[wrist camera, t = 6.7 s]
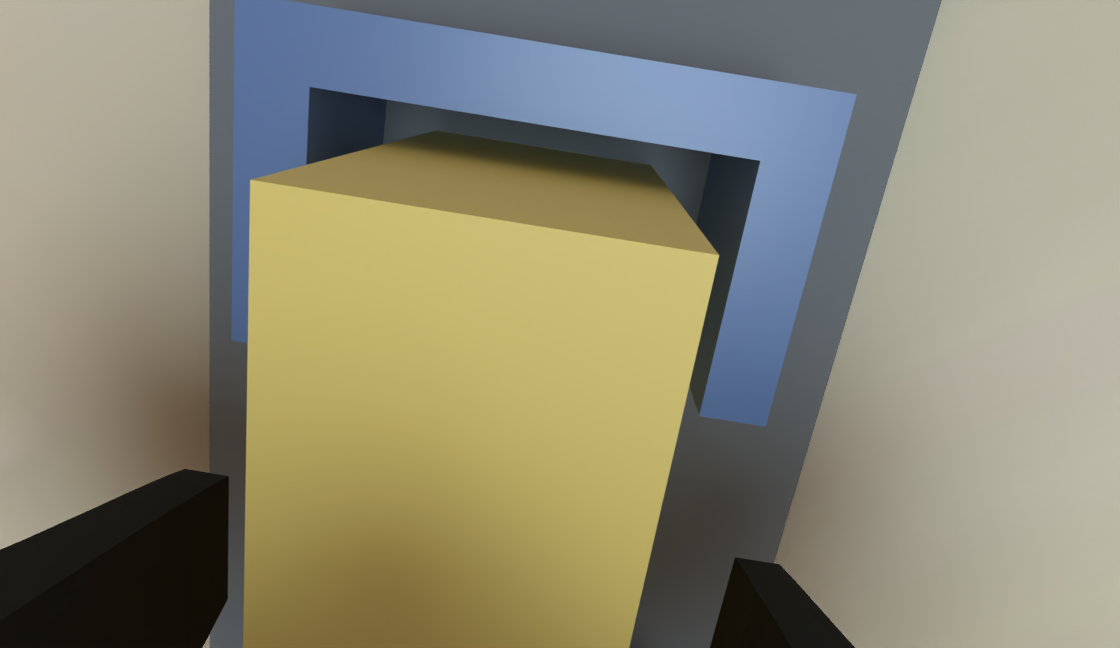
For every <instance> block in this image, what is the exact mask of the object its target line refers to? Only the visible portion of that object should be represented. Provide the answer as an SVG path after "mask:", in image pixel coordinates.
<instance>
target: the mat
mask: <svg viewBox="0 0 1120 648" xmlns="http://www.w3.org/2000/svg"><path fill="white" fill-rule="evenodd" d="M288 1H294V2H300V3H306V4H312V5H318V6H324V7H330V8H336V9H342V10H348V11H354V12H360V13H366V14H372V15H379V16H385V17H391V18H397V19H403V20H409V21H415V22H421V23H427V24H433V25H439V26H445V27H451V28H457V29H463V30H470V31H476V32H482V33H488V34H494V35H500V36H506V37H512V38H518V39H524V40H530V41H536V42H542V43H548V44H554V45H561V46H567V47H573V48H579V49H585V50H591V51H597V52H603V53H609V54H615V55H621V56H627V57H633V58H639V59H645V60H652V61H658V62H664V63H670V64H676V65H682V66H688V67H694V68H700V69H706V70H712V71H718V72H724V73H730V74H736V75H743V76H749V77H755V78H761V79H767V80H773V81H779V82H785V83H791V84H797V85H803V86H809V87H815V88H821V89H827V90H834V91H840V92H846V93H852V94H857V96H856V99H855V103H854V107H853V110H852V114H851V118H850V121H849V125H848V129H847V132H846V136H845V139H844V143H843V147H842V150H841V154H840V158H839V161H838V165H837V169H836V172H835V176H834V180H833V183H832V187H831V190H830V194H829V198H828V201H827V205H826V209H825V212H824V216H823V220H822V223H821V227H820V231H819V234H818V238H817V241H816V245H815V249H814V252H813V256H812V260H811V263H810V267H809V271H808V274H807V278H806V282H805V285H804V289H803V292H802V296H801V300H800V303H799V307H798V311H797V314H796V318H795V322H794V325H793V329H792V332H791V336H790V340H789V343H788V347H787V351H786V354H785V358H784V362H783V365H782V369H781V373H780V376H779V380H778V383H777V387H776V391H775V394H774V398H773V402H772V405H771V409H770V413H769V416H768V420H767V424H766V427H764V426H758V425H752V424H745V423H739V422H733V421H727V420H721V419H714V418H708V417H702V416H699V414H698V411H697V408H696V405H695V402H694V399H693V396H692V392H691V389H690V386H689V389H688V394H687V398H686V402H685V407H684V411H683V415H682V420H681V424H680V428H679V433H678V437H677V442H676V446H675V450H674V455H673V459H672V463H671V468H670V472H669V476H668V481H667V485H666V489H665V494H664V498H663V502H662V507H661V511H660V516H659V520H658V524H657V529H656V533H655V537H654V542H653V546H652V550H651V555H650V559H649V563H648V568H647V572H646V576H645V581H644V585H643V590H642V594H641V598H640V603H639V607H638V611H637V616H636V620H635V624H634V629H633V633H632V637H631V642H630V646H629V648H710V645H711V642H712V638H713V634H714V631H715V627H716V624H717V620H718V616H719V613H720V609H721V606H722V602H723V598H724V595H725V591H726V588H727V584H728V580H729V577H730V573H731V570H732V566H733V562H734V559H735V557H737V558H743V559H749V560H756V561H762V562H768V563H774V560H775V556H776V553H777V550H778V546H779V543H780V539H781V536H782V533H783V529H784V526H785V523H786V519H787V516H788V513H789V509H790V506H791V503H792V499H793V496H794V493H795V489H796V486H797V483H798V479H799V476H800V473H801V469H802V466H803V462H804V459H805V456H806V452H807V449H808V446H809V442H810V439H811V436H812V432H813V429H814V426H815V422H816V419H817V416H818V412H819V409H820V406H821V402H822V399H823V396H824V392H825V389H826V385H827V382H828V379H829V375H830V372H831V369H832V365H833V362H834V359H835V355H836V352H837V349H838V345H839V342H840V339H841V335H842V332H843V329H844V325H845V322H846V319H847V315H848V312H849V308H850V305H851V302H852V298H853V295H854V292H855V288H856V285H857V282H858V278H859V275H860V272H861V268H862V265H863V262H864V258H865V255H866V252H867V248H868V245H869V242H870V238H871V235H872V231H873V228H874V225H875V221H876V218H877V215H878V211H879V208H880V205H881V201H882V198H883V195H884V191H885V188H886V185H887V181H888V178H889V175H890V171H891V168H892V165H893V161H894V158H895V154H896V151H897V148H898V144H899V141H900V138H901V134H902V131H903V128H904V124H905V121H906V118H907V114H908V111H909V108H910V104H911V101H912V98H913V94H914V91H915V87H916V84H917V81H918V77H919V74H920V71H921V67H922V64H923V61H924V57H925V54H926V51H927V47H928V44H929V41H930V37H931V34H932V31H933V27H934V24H935V21H936V17H937V14H938V10H939V7H940V4H941V0H288ZM234 23H235V0H210V473H212V474H219V475H225V476H229V525H228V600H227V602H226V604H225V606H224V608H223V610H222V611H221V613H220V615H219V617H218V619H217V621H216V623H215V625H214V627H213V629H212V630H211V632H210V648H243V623H244V557H245V491H246V426H247V360H248V343H244V342H238V341H232V340H231V331H232V228H233V125H234ZM436 130H437V131H443V132H449V133H455V134H461V135H467V136H474V137H480V138H486V139H492V140H498V141H505V142H511V143H517V144H523V145H529V146H536V147H542V148H548V149H554V150H560V151H567V152H573V153H579V154H585V155H591V156H597V157H604V158H610V159H616V160H622V161H628V162H635V163H641V164H647V165H651V166H652V167H653V168H654V170H655V171H656V172H657V174H658V175H659V176H660V178H661V179H662V180H663V182H664V183H665V184H666V186H667V187H668V188H669V189H670V191H671V192H672V193H673V195H674V196H675V197H676V199H677V200H678V201H679V203H680V204H681V205H682V207H683V208H684V209H685V211H686V212H687V213H688V215H689V216H690V217H691V219H692V220H693V221H694V223H695V224H697V219H698V215H699V210H700V206H701V201H702V196H703V192H704V187H705V183H706V178H707V174H708V169H709V164H710V160H711V155H712V153H710V152H703V151H697V150H691V149H685V148H679V147H673V146H667V145H661V144H655V143H649V142H643V141H636V140H630V139H624V138H618V137H612V136H606V135H600V134H594V133H588V132H582V131H575V130H569V129H563V128H557V127H551V126H545V125H539V124H533V123H527V122H521V121H515V120H508V119H502V118H496V117H490V116H484V115H478V114H472V113H466V112H460V111H454V110H447V109H441V108H435V107H429V106H423V105H417V104H411V103H405V102H399V101H393V100H387V102H386V116H385V129H384V142H383V144H387V143H391V142H395V141H398V140H402V139H406V138H410V137H413V136H417V135H421V134H425V133H428V132H432V131H436Z"/></svg>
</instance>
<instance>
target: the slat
mask: <svg viewBox="0 0 1120 648" xmlns="http://www.w3.org/2000/svg"><path fill="white" fill-rule="evenodd" d="M718 259H719V254H718V253H717V252H716V250H715V249H714V248H713V246H712V245H711V244H710V242H709V241H708V240H707V238H706V237H705V236H704V234H703V233H702V232H701V230H700V229H699V228H698V226H697V225H696V224H695V223H694V221H693V220H692V219H691V217H690V216H689V215H688V213H687V212H686V211H685V209H684V208H683V207H682V205H681V204H680V203H679V201H678V200H677V199H676V197H675V196H674V195H673V193H672V192H671V191H670V189H669V188H668V187H667V186H666V184H665V183H664V182H663V180H662V179H661V178H660V176H659V175H658V174H657V172H656V171H655V170H654V168H653V167H652V166H651V165H647V164H641V163H635V162H628V161H622V160H616V159H610V158H604V157H597V156H591V155H585V154H579V153H573V152H567V151H560V150H554V149H548V148H542V147H536V146H529V145H523V144H517V143H511V142H505V141H498V140H492V139H486V138H480V137H474V136H467V135H461V134H455V133H449V132H443V131H437V130H436V131H432V132H428V133H425V134H421V135H417V136H413V137H410V138H406V139H402V140H398V141H395V142H391V143H387V144H383V145H380V146H376V147H372V148H368V149H364V150H361V151H357V152H353V153H349V154H346V155H342V156H338V157H334V158H331V159H327V160H323V161H319V162H316V163H312V164H308V165H304V166H300V167H297V168H293V169H289V170H285V171H282V172H278V173H274V174H270V175H267V176H263V177H259V178H255V179H252V180H250V228H249V294H248V360H247V426H246V491H245V557H244V623H243V648H629V646H630V642H631V637H632V633H633V629H634V624H635V620H636V616H637V611H638V607H639V603H640V598H641V594H642V590H643V585H644V581H645V576H646V572H647V568H648V563H649V559H650V555H651V550H652V546H653V542H654V537H655V533H656V529H657V524H658V520H659V516H660V511H661V507H662V502H663V498H664V494H665V489H666V485H667V481H668V476H669V472H670V468H671V463H672V459H673V455H674V450H675V446H676V442H677V437H678V433H679V428H680V424H681V420H682V415H683V411H684V407H685V402H686V398H687V394H688V389H689V385H690V381H691V376H692V372H693V368H694V363H695V359H696V354H697V350H698V346H699V341H700V337H701V333H702V328H703V324H704V320H705V315H706V311H707V307H708V302H709V298H710V294H711V289H712V285H713V280H714V276H715V272H716V267H717V263H718Z"/></svg>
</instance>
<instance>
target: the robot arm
mask: <svg viewBox="0 0 1120 648" xmlns="http://www.w3.org/2000/svg"><path fill="white" fill-rule="evenodd" d="M228 525H229V476H225V475H219V474H212V473H206V472H200V471H194V470H187V469H184V470H181V471H178V472H176V473H173V474H170V475H168V476H165V477H163V478H160V479H158V480H156V481H153V482H151V483H149V484H147V485H144V486H142V487H140V488H138V489H135V490H133V491H131V492H129V493H126V494H124V495H122V496H120V497H118V498H115V499H113V500H111V501H109V502H107V503H104V504H102V505H100V506H98V507H96V508H94V509H91V510H89V511H87V512H85V513H82V514H80V515H78V516H76V517H74V518H71V519H69V520H67V521H65V522H62V523H60V524H58V525H56V526H54V527H51V528H49V529H47V530H45V531H42V532H40V533H38V534H36V535H34V536H31V537H29V538H27V539H25V540H22V541H20V542H18V543H15V544H13V545H10V546H8V547H6V548H3V549H1V550H0V648H202V647H203V645H204V643H205V642H206V640H207V638H208V636H209V634H210V632H211V630H212V629H213V627H214V625H215V623H216V621H217V619H218V617H219V615H220V613H221V611H222V610H223V608H224V606H225V604H226V602H227V600H228ZM710 648H855V647H854V646H853V645H852V644H851V643H850V642H849V641H848V640H847V639H846V637H845V636H844V635H843V634H842V633H841V632H840V631H839V630H838V628H837V627H836V626H835V625H834V624H833V623H832V622H831V621H830V619H829V618H828V617H827V616H826V615H825V614H824V613H823V612H822V611H821V609H820V608H819V607H818V606H817V605H816V604H815V603H814V602H813V600H812V599H811V598H810V597H809V596H808V595H807V594H806V593H805V591H804V590H803V589H802V588H801V587H800V586H799V585H798V584H797V583H796V581H795V580H794V579H793V578H792V577H791V576H790V575H789V574H788V573H787V572H786V571H785V570H784V569H783V568H782V567H781V566H780V565H779V564H774V563H768V562H762V561H756V560H749V559H743V558H737V557H735V559H734V562H733V566H732V570H731V573H730V577H729V580H728V584H727V588H726V591H725V595H724V598H723V602H722V606H721V609H720V613H719V616H718V620H717V624H716V627H715V631H714V634H713V638H712V642H711V645H710Z"/></svg>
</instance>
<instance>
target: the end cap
mask: <svg viewBox="0 0 1120 648" xmlns="http://www.w3.org/2000/svg"><path fill="white" fill-rule="evenodd" d="M856 96H857V94H852V93H846V92H840V91H834V90H827V89H821V88H815V87H809V86H803V85H797V84H791V83H785V82H779V81H773V80H767V79H761V78H755V77H749V76H743V75H736V74H730V73H724V72H718V71H712V70H706V69H700V68H694V67H688V66H682V65H676V64H670V63H664V62H658V61H652V60H645V59H639V58H633V57H627V56H621V55H615V54H609V53H603V52H597V51H591V50H585V49H579V48H573V47H567V46H561V45H554V44H548V43H542V42H536V41H530V40H524V39H518V38H512V37H506V36H500V35H494V34H488V33H482V32H476V31H470V30H463V29H457V28H451V27H445V26H439V25H433V24H427V23H421V22H415V21H409V20H403V19H397V18H391V17H385V16H379V15H372V14H366V13H360V12H354V11H348V10H342V9H336V8H330V7H324V6H318V5H312V4H306V3H300V2H294V1H288V0H235V23H234V125H233V228H232V331H231V340H232V341H238V342H244V343H248V294H249V228H250V180H252V179H255V178H259V177H263V176H267V175H270V174H274V173H278V172H282V171H285V170H289V169H293V168H297V167H300V166H304V165H308V164H312V163H316V162H319V161H323V160H327V159H331V158H334V157H338V156H342V155H346V154H349V153H353V152H357V151H361V150H364V149H368V148H372V147H376V146H380V145H383V142H384V129H385V116H386V102H387V100H393V101H399V102H405V103H411V104H417V105H423V106H429V107H435V108H441V109H447V110H454V111H460V112H466V113H472V114H478V115H484V116H490V117H496V118H502V119H508V120H515V121H521V122H527V123H533V124H539V125H545V126H551V127H557V128H563V129H569V130H575V131H582V132H588V133H594V134H600V135H606V136H612V137H618V138H624V139H630V140H636V141H643V142H649V143H655V144H661V145H667V146H673V147H679V148H685V149H691V150H697V151H703V152H710V153H712V155H711V160H710V164H709V169H708V174H707V178H706V183H705V187H704V192H703V196H702V201H701V206H700V210H699V215H698V219H697V224H696V225H697V226H698V228H699V229H700V230H701V232H702V233H703V234H704V236H705V237H706V238H707V240H708V241H709V242H710V244H711V245H712V246H713V248H714V249H715V250H716V252H717V253H718V254H719V259H718V263H717V267H716V272H715V276H714V280H713V285H712V289H711V294H710V298H709V302H708V307H707V311H706V315H705V320H704V324H703V328H702V333H701V337H700V341H699V346H698V350H697V354H696V359H695V363H694V368H693V372H692V376H691V381H690V385H689V386H690V389H691V392H692V396H693V399H694V402H695V405H696V408H697V411H698V414H699V416H702V417H708V418H714V419H721V420H727V421H733V422H739V423H745V424H752V425H758V426H764V427H766V424H767V420H768V416H769V413H770V409H771V405H772V402H773V398H774V394H775V391H776V387H777V383H778V380H779V376H780V373H781V369H782V365H783V362H784V358H785V354H786V351H787V347H788V343H789V340H790V336H791V332H792V329H793V325H794V322H795V318H796V314H797V311H798V307H799V303H800V300H801V296H802V292H803V289H804V285H805V282H806V278H807V274H808V271H809V267H810V263H811V260H812V256H813V252H814V249H815V245H816V241H817V238H818V234H819V231H820V227H821V223H822V220H823V216H824V212H825V209H826V205H827V201H828V198H829V194H830V190H831V187H832V183H833V180H834V176H835V172H836V169H837V165H838V161H839V158H840V154H841V150H842V147H843V143H844V139H845V136H846V132H847V129H848V125H849V121H850V118H851V114H852V110H853V107H854V103H855V99H856Z"/></svg>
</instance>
